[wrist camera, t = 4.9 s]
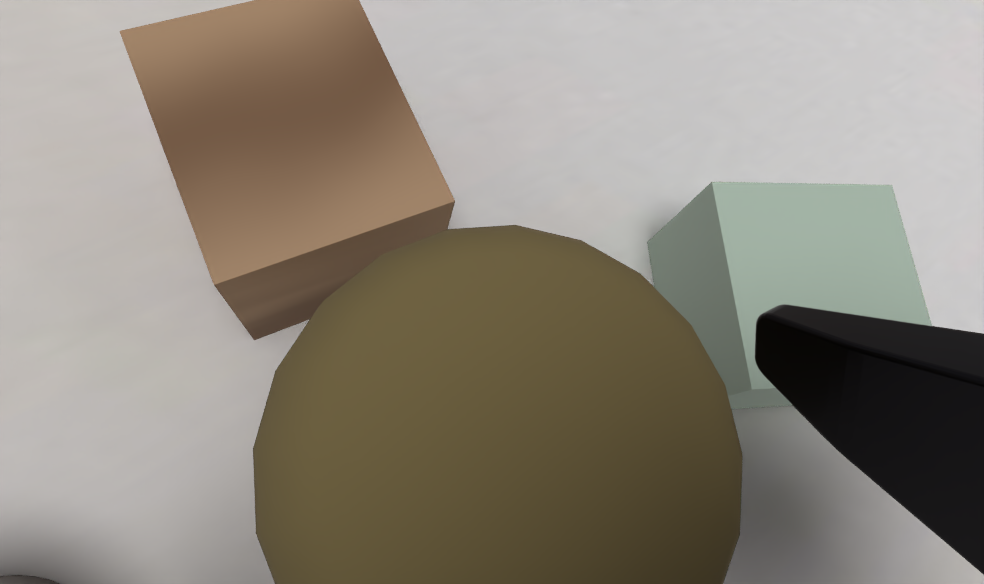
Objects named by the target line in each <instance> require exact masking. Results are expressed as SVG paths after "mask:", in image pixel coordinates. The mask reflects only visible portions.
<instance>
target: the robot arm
mask: <svg viewBox="0 0 984 584" xmlns="http://www.w3.org/2000/svg"><path fill="white" fill-rule="evenodd" d="M755 361H756V364H757V367H758V369H759V370H760V372H761V373H762V374H763V375H764V376H765V377H766V378H767V379H768V380H769V381H770V382H771V383H772V385H773V386H774V387H775V388H776V389H777V390H778V391H779V392H780V393H781V394H782V395H783V396H784V397H785V398H786V399H787V400H788V401H789V402H790V403H791V404H792V405H793V406H794V407H795V408H796V409H797V410H798V411H799V412H800V413H801V414H802V415H803V416H804V417H805V418H806V419H807V420H808V421H809V422H810V423H811V424H812V425H813V426H814V428H815V429H816V430H817V431H818V432H819V433H820V434H821V435H822V436H823V437H824V438H825V439H826V440H827V441H828V442H830V443H831V444H832V445H833V446H834V447H835V448H836V449H837V450H838V451H839V452H840V453H841V454H843V455H844V456H845V457H846V458H847V459H848V460H849V461H850V462H852V463H853V464H854V465H855V466H856V467H858V468H859V469H860V470H861V471H862V472H863V473H865V474H866V475H867V476H868V477H869V478H871V479H872V480H873V481H874V482H875V483H876V484H878V485H879V486H880V487H881V488H882V489H883V490H885V491H886V492H887V493H888V494H889V495H891V496H892V497H893V498H894V499H895V500H896V501H898V502H899V503H900V504H901V505H902V506H903V507H905V508H906V509H907V510H908V511H909V512H911V513H912V514H913V515H914V516H915V517H916V518H918V519H919V520H920V521H921V522H922V523H924V524H925V525H926V526H927V527H928V528H929V529H931V530H932V531H933V532H934V533H935V534H936V535H938V536H939V537H940V538H941V539H942V540H944V541H945V542H946V543H947V544H948V545H949V546H951V547H952V548H953V549H954V550H955V551H956V552H958V553H959V554H960V555H961V556H962V557H964V558H965V559H966V560H967V561H968V562H969V563H971V564H972V565H973V566H974V567H975V568H977V569H978V570H979V571H980V572H981V573H982V574H984V334H982V333H975V332H968V331H962V330H955V329H948V328H942V327H935V326H928V325H921V324H915V323H908V322H901V321H895V320H888V319H881V318H874V317H868V316H861V315H854V314H848V313H841V312H834V311H828V310H821V309H814V308H807V307H801V306H794V305H787V304H782V305H778V306H776V307H774V308H772V309H770V310H768V311H766V312H764V313H762V314H761V315H760V316H759V317H758V319H757V321H756V333H755Z"/></svg>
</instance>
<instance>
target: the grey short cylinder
mask: <svg viewBox="0 0 984 584" xmlns="http://www.w3.org/2000/svg"><path fill="white" fill-rule="evenodd" d="M0 584H59V583H57V582H54V581H52V580H48V579H44V578H39V577H34V576H22V575H12V576H0Z"/></svg>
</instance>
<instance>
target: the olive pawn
mask: <svg viewBox="0 0 984 584" xmlns="http://www.w3.org/2000/svg"><path fill="white" fill-rule="evenodd" d="M253 459H254V487H255V515H256V534H257V537H258V540H259V542H260V545H261V547H262V550H263V553H264V555H265V558H266V561H267V563H268V566H269V569H270V571H271V574H272V577H273V579H274V582H275V584H723V582H724V579H725V576H726V573H727V570H728V567H729V564H730V561H731V558H732V555H733V552H734V550H735V547H736V544H737V541H738V538H739V535H740V513H741V485H742V451H741V447H740V443H739V439H738V435H737V431H736V427H735V423H734V419H733V415H732V411H731V407H730V402H729V398H728V394H727V390H726V386H725V384H724V382H723V380H722V378H721V377H720V375H719V373H718V371H717V370H716V368H715V366H714V364H713V362H712V361H711V359H710V357H709V355H708V354H707V352H706V350H705V348H704V347H703V345H702V343H701V341H700V339H699V338H698V336H697V334H696V332H695V331H694V329H693V327H692V325H691V324H690V323H689V322H688V321H687V320H686V319H685V318H684V317H683V316H682V315H681V314H680V313H679V312H678V311H677V310H676V309H675V308H674V307H673V306H672V305H671V304H670V303H669V302H668V301H667V300H666V299H665V298H664V297H663V296H662V295H661V294H660V293H659V292H658V291H657V290H656V289H655V288H654V287H653V286H652V285H651V284H650V283H649V282H648V281H647V280H646V279H645V278H644V277H643V276H642V275H641V274H640V273H638V272H636V271H635V270H633V269H631V268H629V267H628V266H626V265H624V264H622V263H620V262H619V261H617V260H615V259H613V258H612V257H610V256H608V255H606V254H604V253H603V252H601V251H599V250H597V249H596V248H594V247H592V246H590V245H588V244H587V243H585V242H583V241H581V240H577V239H573V238H569V237H564V236H560V235H556V234H552V233H547V232H543V231H539V230H534V229H530V228H526V227H521V226H517V225H509V226H493V227H478V228H462V229H447V230H444V231H442V232H439V233H437V234H434V235H431V236H429V237H426V238H423V239H421V240H418V241H416V242H413V243H410V244H408V245H405V246H403V247H400V248H397V249H395V250H392V251H389V252H387V253H384V254H382V255H380V256H379V257H378V258H376V259H375V260H374V261H373V262H371V263H370V264H369V265H368V266H366V267H365V268H364V269H363V270H361V271H360V272H359V273H358V274H356V275H355V276H354V277H353V278H351V279H350V280H349V281H348V282H346V283H345V284H344V285H342V286H341V287H340V288H339V289H337V290H336V291H335V292H334V293H332V294H331V295H330V296H329V297H327V298H326V299H325V300H324V301H323V302H322V303H321V304H320V306H319V307H318V308H317V310H316V311H315V313H314V314H313V316H312V317H311V319H310V320H309V322H308V323H307V325H306V326H305V328H304V329H303V331H302V332H301V334H300V335H299V337H298V338H297V340H296V341H295V343H294V344H293V346H292V347H291V349H290V350H289V352H288V353H287V355H286V356H285V358H284V359H283V361H282V362H281V364H280V365H279V367H278V368H277V370H276V371H275V375H274V378H273V381H272V385H271V388H270V392H269V395H268V399H267V402H266V406H265V409H264V413H263V416H262V420H261V423H260V427H259V430H258V434H257V437H256V441H255V444H254V448H253Z"/></svg>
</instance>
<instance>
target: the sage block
mask: <svg viewBox="0 0 984 584" xmlns="http://www.w3.org/2000/svg"><path fill="white" fill-rule="evenodd" d="M647 244H648V250H649V256H650V263H651V269H652V276H653V282H654V288H655V289H656V290H657V291H658V292H659V293H660V294H661V295H662V296H663V297H664V298H665V299H666V300H667V301H668V302H669V303H670V304H671V305H672V306H673V307H674V308H675V309H676V310H677V311H678V312H679V313H680V314H681V315H682V316H683V317H684V318H685V319H686V320H687V321H688V322H689V323H690V324H691V325H692V327H693V329H694V331H695V332H696V334H697V336H698V338H699V339H700V341H701V343H702V345H703V347H704V348H705V350H706V352H707V354H708V355H709V357H710V359H711V361H712V362H713V364H714V366H715V368H716V370H717V371H718V373H719V375H720V377H721V378H722V380H723V382H724V384H725V386H726V390H727V394H728V398H729V402H730V407H731V409H741V408H759V407H777V406H793V405H792V404H791V403H790V402H789V401H788V400H787V399H786V398H785V397H784V396H783V395H782V394H781V393H780V392H779V391H778V390H777V389H776V388H775V387H774V386H773V385H772V383H771V382H770V381H769V380H768V379H767V378H766V377H765V376H764V375H763V374H762V373H761V372H760V370H759V369H758V367H757V364H756V361H755V333H756V321H757V319H758V317H759V316H760V315H761V314H762V313H764V312H766V311H768V310H770V309H772V308H774V307H776V306H778V305H782V304H787V305H794V306H801V307H807V308H814V309H821V310H828V311H834V312H841V313H848V314H854V315H861V316H868V317H874V318H881V319H888V320H895V321H901V322H908V323H915V324H921V325H928V326H932V324H931V321H930V317H929V314H928V310H927V307H926V303H925V300H924V296H923V293H922V289H921V286H920V282H919V279H918V275H917V272H916V268H915V265H914V261H913V258H912V254H911V251H910V247H909V244H908V240H907V237H906V233H905V230H904V226H903V223H902V219H901V215H900V212H899V208H898V205H897V201H896V198H895V194H894V191H893V187H892V185H861V184H804V183H746V182H711V183H710V184H709V185H708V186H707V187H706V188H705V189H704V190H703V191H702V192H701V193H700V194H698V195H697V196H696V197H695V198H694V199H693V200H692V201H691V202H690V203H689V204H688V205H687V206H686V207H685V208H684V209H682V210H681V211H680V212H679V213H678V214H677V215H676V216H675V217H674V218H673V219H672V220H671V221H670V222H669V223H668V224H667V225H665V226H664V227H663V228H662V229H661V230H660V231H659V232H658V233H657V234H656V235H655V236H654V237H653V238H652V239H651V240H649V241H648V242H647Z"/></svg>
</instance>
